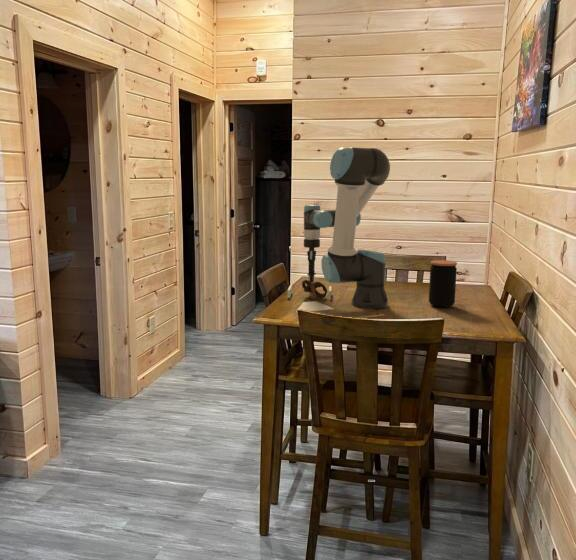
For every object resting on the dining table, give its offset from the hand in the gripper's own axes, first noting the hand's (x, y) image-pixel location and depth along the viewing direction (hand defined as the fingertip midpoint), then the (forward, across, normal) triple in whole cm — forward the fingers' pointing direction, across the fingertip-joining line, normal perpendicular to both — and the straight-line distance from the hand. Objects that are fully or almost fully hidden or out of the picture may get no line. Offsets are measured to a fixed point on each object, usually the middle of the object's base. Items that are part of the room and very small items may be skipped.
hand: (311, 288), depth 257 cm
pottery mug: (+1, +13, -1) cm, 13 cm away
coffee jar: (+2, +21, +56) cm, 60 cm away
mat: (+1, +32, 0) cm, 32 cm away
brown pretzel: (+1, +12, 0) cm, 12 cm away
